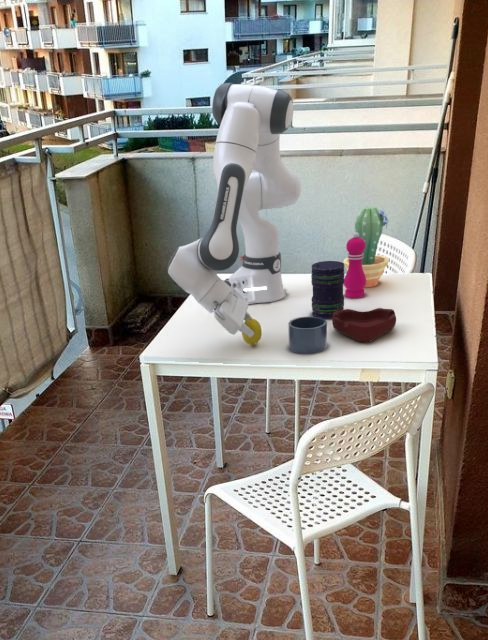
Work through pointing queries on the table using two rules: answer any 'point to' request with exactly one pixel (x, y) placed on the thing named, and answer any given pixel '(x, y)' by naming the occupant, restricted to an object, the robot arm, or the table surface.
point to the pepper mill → (355, 268)
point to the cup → (307, 335)
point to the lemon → (257, 332)
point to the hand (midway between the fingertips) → (254, 330)
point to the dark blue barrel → (327, 288)
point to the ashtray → (364, 323)
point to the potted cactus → (371, 243)
